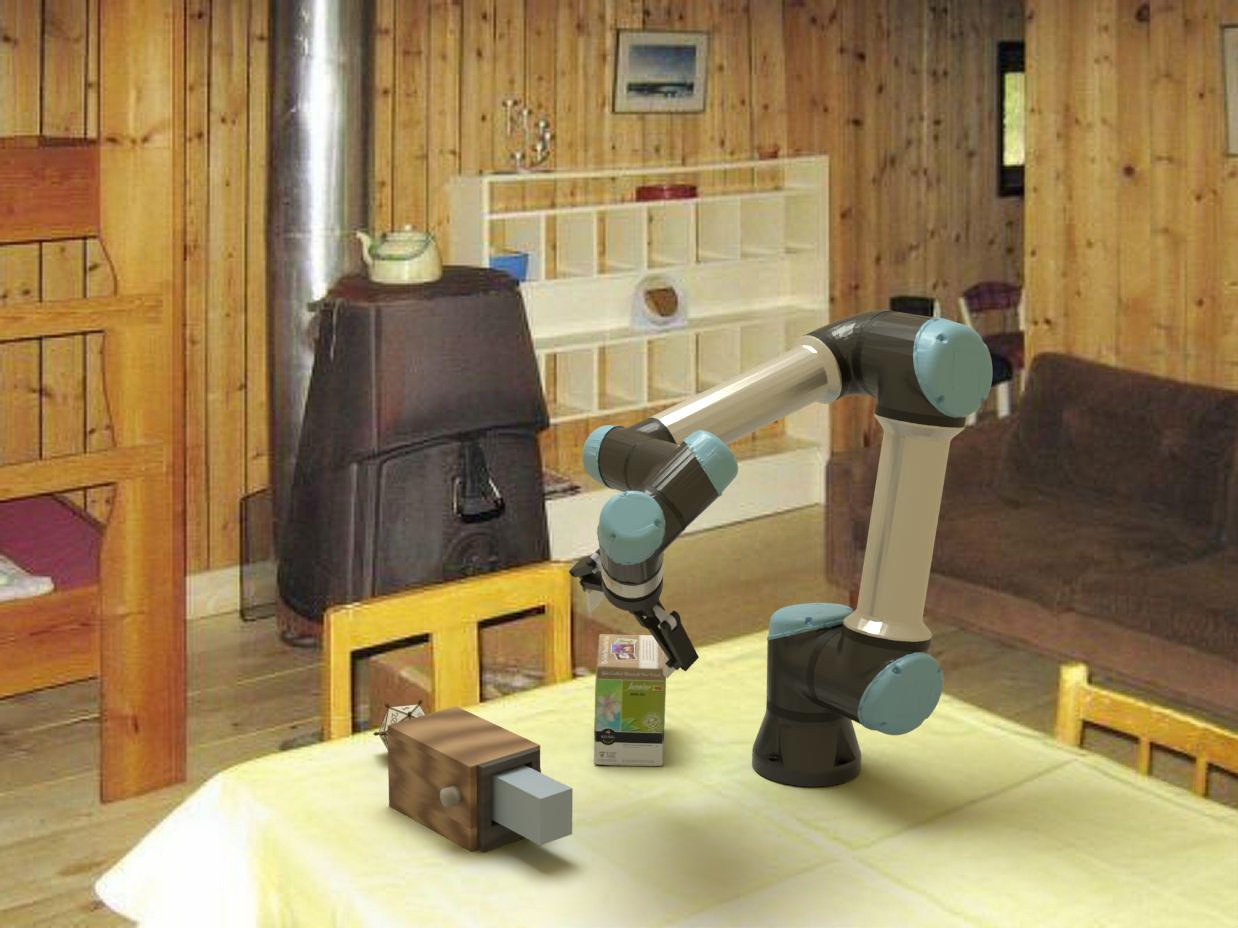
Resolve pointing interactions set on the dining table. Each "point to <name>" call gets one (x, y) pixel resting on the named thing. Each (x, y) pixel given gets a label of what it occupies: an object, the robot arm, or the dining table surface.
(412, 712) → the game die
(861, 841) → the dining table surface
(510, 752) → the wooden peg box
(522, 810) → the peg
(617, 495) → the robot arm
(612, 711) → the tea box
